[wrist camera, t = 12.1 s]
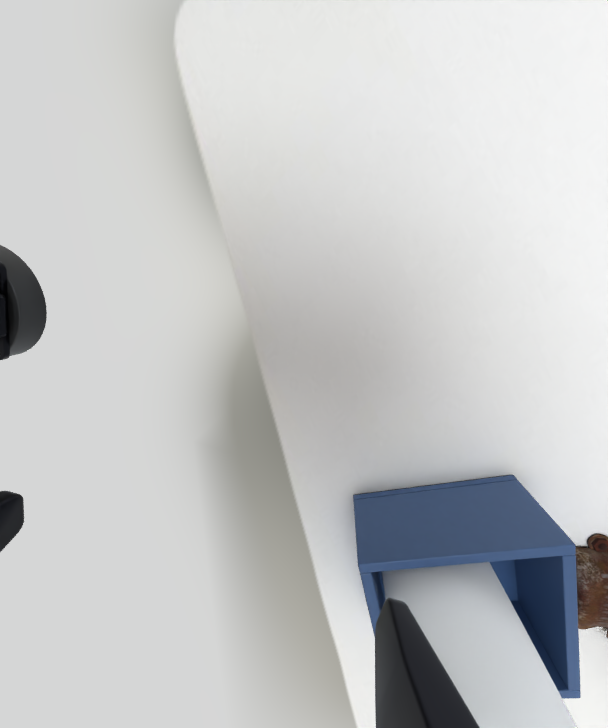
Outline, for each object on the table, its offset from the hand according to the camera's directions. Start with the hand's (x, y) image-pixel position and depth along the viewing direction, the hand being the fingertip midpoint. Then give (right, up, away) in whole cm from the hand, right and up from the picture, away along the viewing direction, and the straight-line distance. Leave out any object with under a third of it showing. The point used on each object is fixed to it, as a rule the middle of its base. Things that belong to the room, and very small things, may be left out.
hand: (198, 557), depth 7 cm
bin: (+12, -8, +14) cm, 20 cm away
